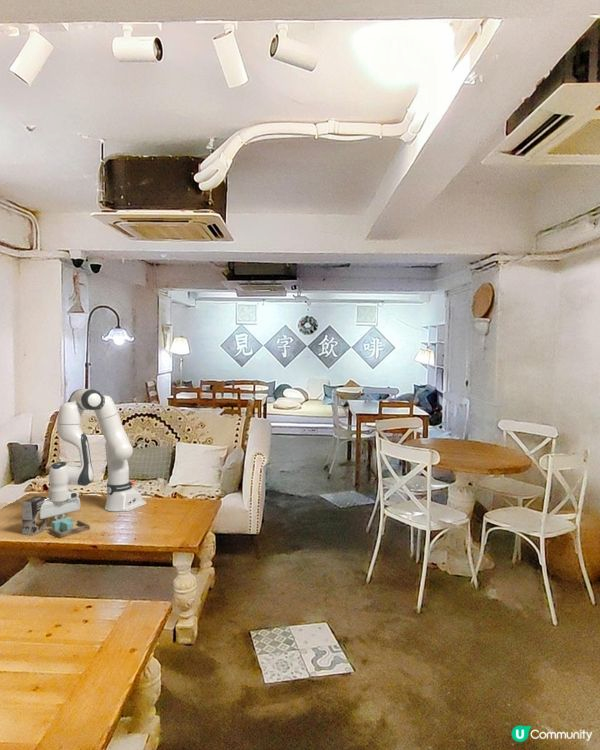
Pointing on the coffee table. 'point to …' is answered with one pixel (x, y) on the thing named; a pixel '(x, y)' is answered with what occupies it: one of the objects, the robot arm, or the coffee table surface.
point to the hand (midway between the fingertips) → (59, 522)
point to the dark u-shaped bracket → (70, 532)
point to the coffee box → (32, 516)
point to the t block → (62, 524)
